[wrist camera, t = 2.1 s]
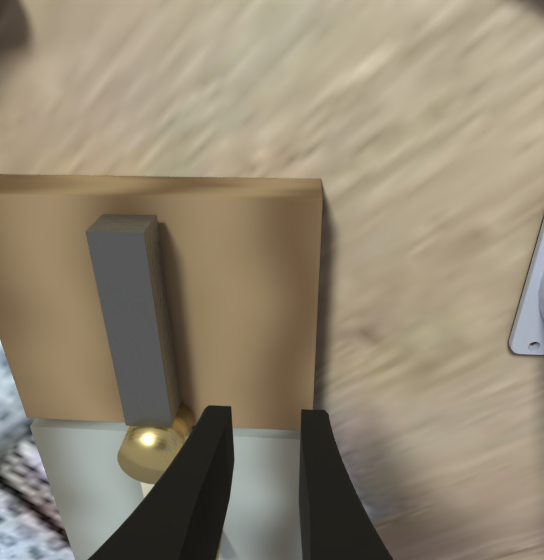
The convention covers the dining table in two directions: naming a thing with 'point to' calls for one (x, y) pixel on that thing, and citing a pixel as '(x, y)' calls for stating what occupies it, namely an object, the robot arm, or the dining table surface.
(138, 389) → the bar
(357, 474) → the dining table surface
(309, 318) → the door mockup
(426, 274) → the dining table surface
